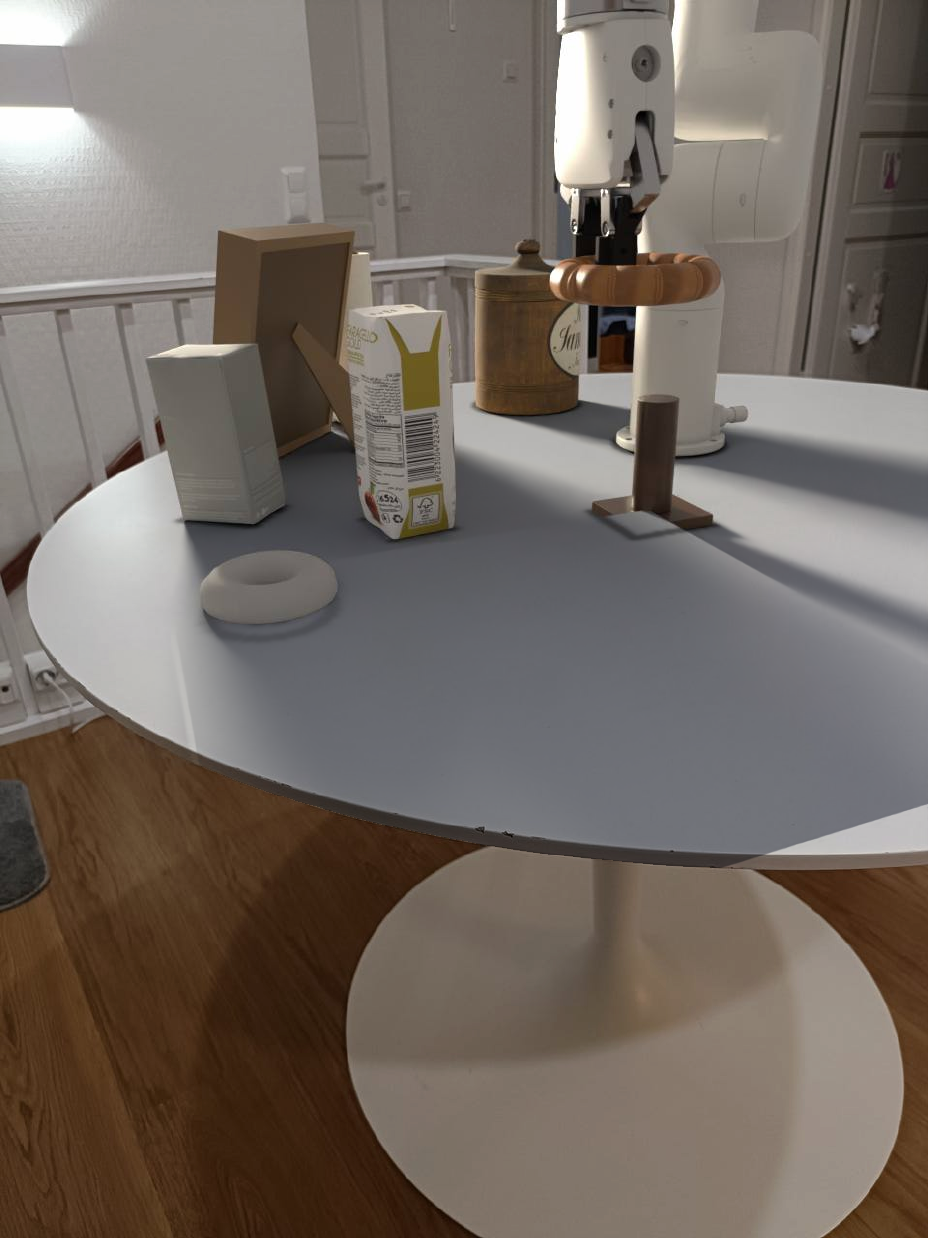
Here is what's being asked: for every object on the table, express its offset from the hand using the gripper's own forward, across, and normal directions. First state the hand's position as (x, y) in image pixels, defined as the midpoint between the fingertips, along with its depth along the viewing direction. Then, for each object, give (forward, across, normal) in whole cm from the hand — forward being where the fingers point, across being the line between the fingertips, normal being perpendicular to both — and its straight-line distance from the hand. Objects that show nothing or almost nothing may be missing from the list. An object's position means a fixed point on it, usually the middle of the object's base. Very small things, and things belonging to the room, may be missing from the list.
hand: (603, 288), depth 68 cm
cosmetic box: (+21, +20, +29) cm, 41 cm away
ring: (-1, -5, 0) cm, 5 cm away
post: (+21, +2, -7) cm, 22 cm away
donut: (+20, -4, +29) cm, 36 cm away
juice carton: (+21, +10, +14) cm, 27 cm away
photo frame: (+21, +39, +17) cm, 48 cm away
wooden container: (+22, +52, -17) cm, 59 cm away
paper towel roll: (+21, +54, +8) cm, 59 cm away
